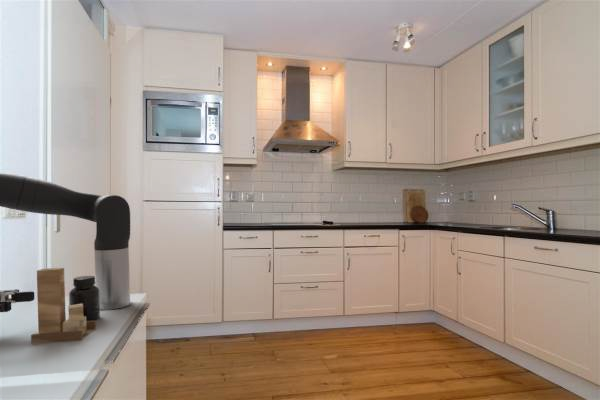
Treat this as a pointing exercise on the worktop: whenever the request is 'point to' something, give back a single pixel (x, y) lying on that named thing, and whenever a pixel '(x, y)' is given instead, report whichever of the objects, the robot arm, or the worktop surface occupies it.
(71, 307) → the small pine offcut
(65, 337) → the walnut rack
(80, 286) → the supplement bottle
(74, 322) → the pine offcut
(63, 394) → the worktop surface
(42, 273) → the oak board
